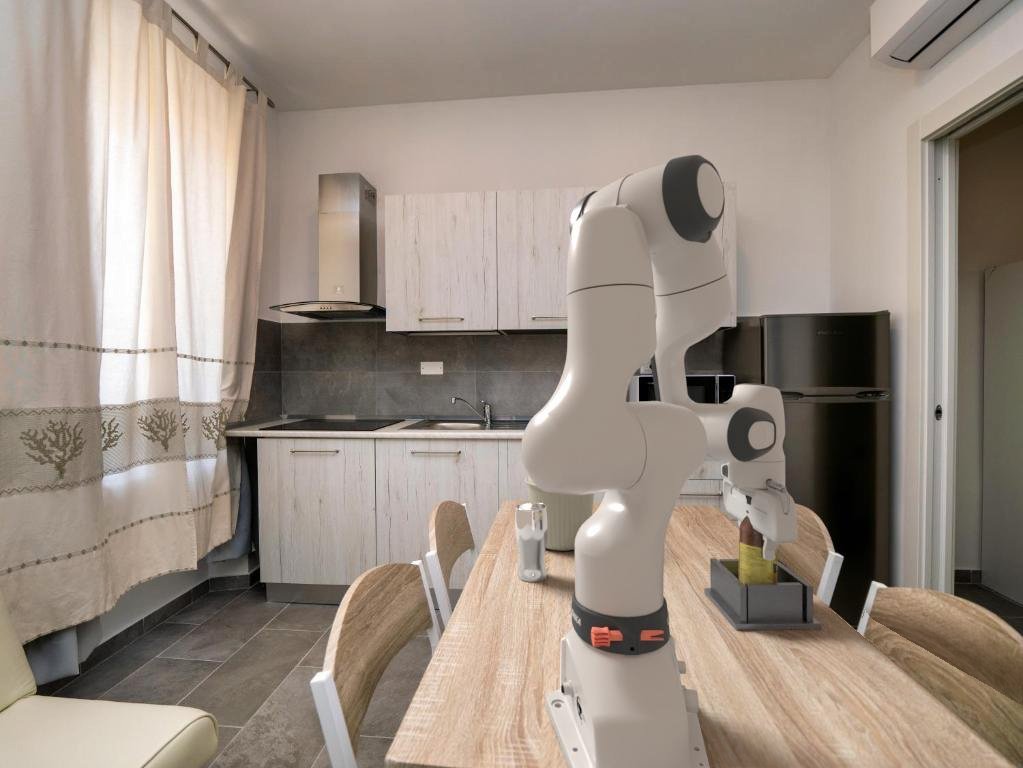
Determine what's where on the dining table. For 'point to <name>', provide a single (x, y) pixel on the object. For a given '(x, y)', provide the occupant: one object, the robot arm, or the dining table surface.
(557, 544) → the canister
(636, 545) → the robot arm
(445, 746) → the dining table surface
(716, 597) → the square socket
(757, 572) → the sauce bottle
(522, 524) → the beer glass
